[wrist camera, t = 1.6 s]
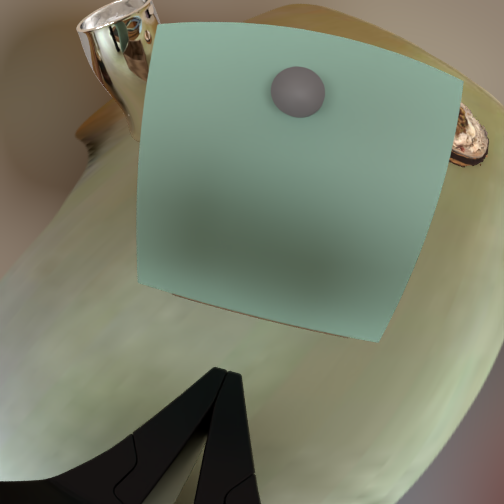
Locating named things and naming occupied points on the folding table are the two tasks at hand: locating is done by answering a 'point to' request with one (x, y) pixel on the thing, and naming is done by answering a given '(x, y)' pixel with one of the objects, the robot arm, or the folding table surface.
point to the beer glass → (122, 53)
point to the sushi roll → (468, 140)
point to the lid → (289, 172)
